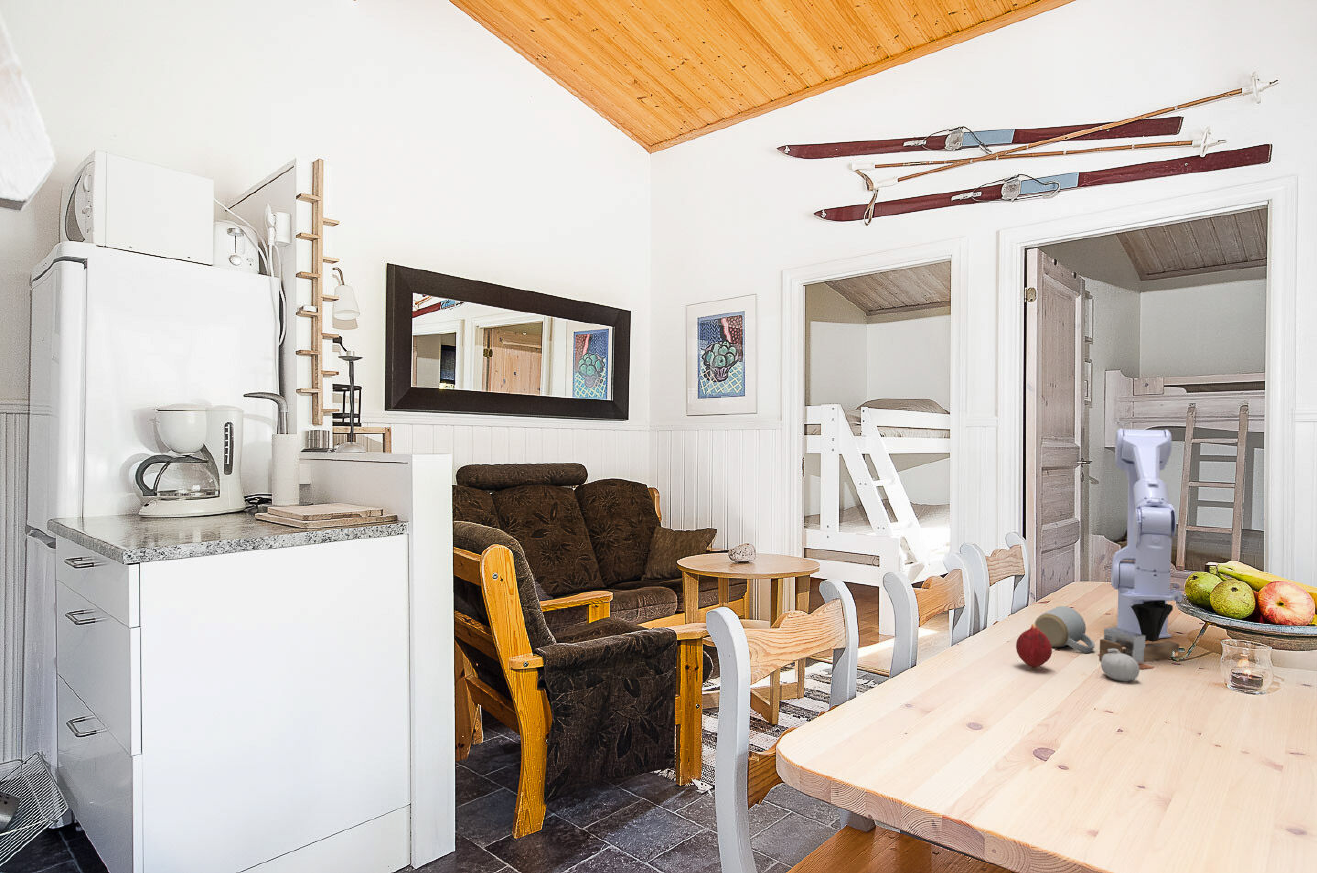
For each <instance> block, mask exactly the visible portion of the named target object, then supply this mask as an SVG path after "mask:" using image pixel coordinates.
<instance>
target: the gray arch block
mask: <svg viewBox="0 0 1317 873" xmlns="http://www.w3.org/2000/svg"><path fill="white" fill-rule="evenodd" d="M1103 629H1104V630H1103V639H1105V640H1108V641H1112V642H1115V643H1119V644H1122V648H1124V649H1125V654H1126V655H1128V656H1131V657H1132V658H1133V659H1134V660H1135V661H1136V662H1137V663H1138V664H1141V663H1143V664H1144V661H1143V660H1144V649H1145V644H1146V640H1145V635H1142V634H1138V633H1134V632H1131V631H1127V630H1123V629H1120V628H1117V626H1116V627H1115V626H1113V627H1105V628H1103Z"/></svg>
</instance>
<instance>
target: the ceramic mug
mask: <svg viewBox="0 0 1317 873" xmlns="http://www.w3.org/2000/svg"><path fill="white" fill-rule="evenodd" d="M1034 624H1036V625H1037V628H1038V629H1039V630H1040V631H1041V632H1043V633H1044V634H1045V635H1046V636H1047V638H1048V639H1049V641H1050V643H1051V647H1052V648H1062V647H1066V646H1069V647H1070V648H1072V649H1074V650H1075V651H1077V652H1080V653H1084V654H1089V653H1092V652H1093V650H1094V648H1096V647H1095V646H1096V644H1095V642H1094V641H1093V640H1092V639H1091V637H1090V636H1088V635H1087V634H1086V631H1087V628H1086V627H1087V626H1086V622H1085V620H1084V618H1083V616H1082V615H1081V614H1080V613H1079V612H1078V611H1077V610H1076V609H1074V608H1072V607H1069V606H1066V605H1064V606H1063V605H1060V606H1056V607H1055V608H1052V609H1050V610H1048V611H1045V612H1044V613H1042V614H1040V615H1039V616H1038V617H1037V618H1036V619H1035V621H1034ZM1080 641H1081V642H1083V643H1084V644H1086V646H1085V645H1083V644H1080V643H1079V642H1080Z"/></svg>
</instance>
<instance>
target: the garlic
mask: <svg viewBox="0 0 1317 873" xmlns="http://www.w3.org/2000/svg"><path fill="white" fill-rule="evenodd" d="M1108 652H1117V653H1108V654H1104V655H1103V657H1102V661H1100V667H1101V670H1102V671H1103V673H1104V674H1105V675H1106V676H1107V677H1109V678H1110V679H1112V680H1114V681H1119V682H1130V681H1134V680H1136V679H1137V678H1138V677H1139V674H1140V669H1139V665H1138V663H1137V662H1136V661H1135V660H1134V659H1133V658H1132V657H1131V656H1128V655H1126V654H1122V653H1120V651H1119V650H1118V649H1108Z"/></svg>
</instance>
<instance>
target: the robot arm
mask: <svg viewBox="0 0 1317 873" xmlns="http://www.w3.org/2000/svg"><path fill="white" fill-rule="evenodd" d="M1114 439H1115V440H1114V441H1115V442H1114V446H1115V448H1114V452H1115V453H1114V454H1115V456H1114V457H1115V458H1114V460H1115V465H1116V467H1117V468H1118V469H1120V470H1122V471H1124V473H1125V476H1126V479H1127V518H1126V519H1127V520H1126V521H1127V523H1126V524H1127V526H1126V527H1127V528H1126V530H1127V532H1126V533H1127V534H1126V535H1127V536H1126V537H1127V538H1126V546H1124V547H1123V548H1121V549H1118V550H1117V551H1115V552H1114V554H1113V555H1112V558H1111V559H1112V563H1111V567H1110V570H1111V571H1110V579H1111V581H1110V584H1111V587H1113V589H1114V590H1117V613H1116V614H1117V619H1116V622H1117V623H1116V628H1120V629H1123V630H1127V631H1131V632H1134V633H1138V634H1142V635H1145V641H1147V642H1150V643H1157V642H1158V641H1159V639H1165V638H1172V634H1170V633H1168V629H1169V628H1168V627H1169V626H1168V625H1169V616H1170V614H1171V612H1173V611H1174V610H1173V609H1174V608H1173V607H1174V606H1173V604H1171V603H1170V604H1169V603H1168V602H1173V601H1175V602H1182V601H1183V591H1181V590H1178V589H1171V569H1172V567H1171V565H1172V544H1173V543H1172V541H1173V539H1174V537H1175V535H1176V531H1177V515H1176V510H1175V508H1174V506H1173V504H1171V503H1170V497H1169V490H1168V485H1167V484H1166V482H1165V481H1164V480H1162V479H1160V472H1161V471H1162V470H1163V471H1164V470H1165V468H1166V466H1167V465H1168V462H1169V458H1170V457H1171V454H1172V453H1171V452H1172V444H1173V442H1172V433H1171V432H1170V431H1169V429H1163V430H1162V429H1161V430H1160V429H1127V428H1126V429H1124V428H1119V429H1118V430H1116V432H1115V438H1114ZM1170 536H1171V537H1170Z"/></svg>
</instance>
